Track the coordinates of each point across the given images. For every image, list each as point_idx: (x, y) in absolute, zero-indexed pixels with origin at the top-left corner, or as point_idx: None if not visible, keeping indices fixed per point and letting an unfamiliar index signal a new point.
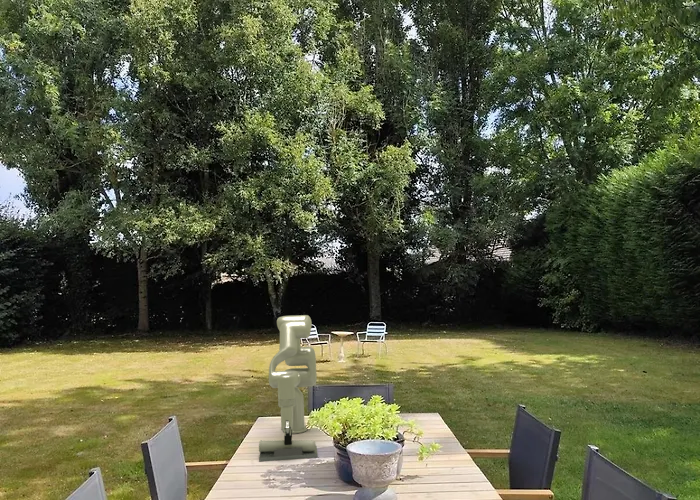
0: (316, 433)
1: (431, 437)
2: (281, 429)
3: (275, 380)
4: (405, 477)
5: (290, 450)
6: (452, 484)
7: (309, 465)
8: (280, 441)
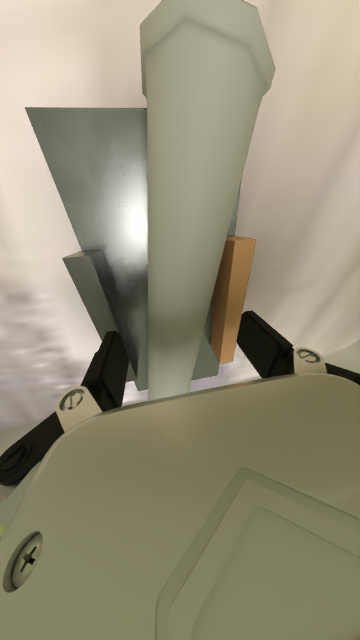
0: (353, 343)
1: None
2: (60, 438)
3: None
4: None
5: None
6: None
7: (54, 379)
8: (172, 298)
